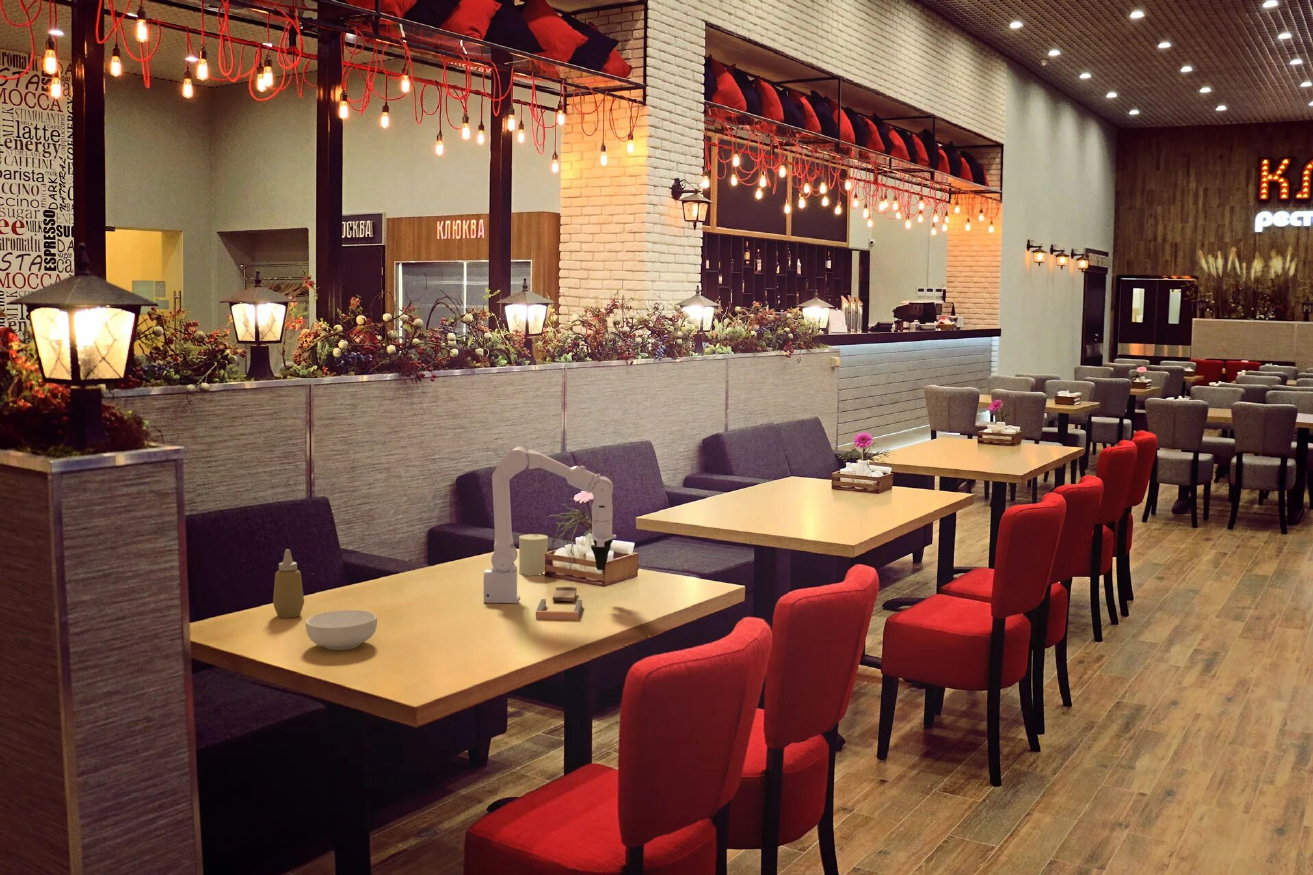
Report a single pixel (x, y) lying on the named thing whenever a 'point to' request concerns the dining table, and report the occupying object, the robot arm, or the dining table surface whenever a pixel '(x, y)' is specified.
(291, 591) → the squeeze bottle
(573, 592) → the brown slab
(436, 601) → the dining table surface
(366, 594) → the dining table surface
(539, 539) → the can
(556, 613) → the tray
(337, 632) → the cereal bowl
